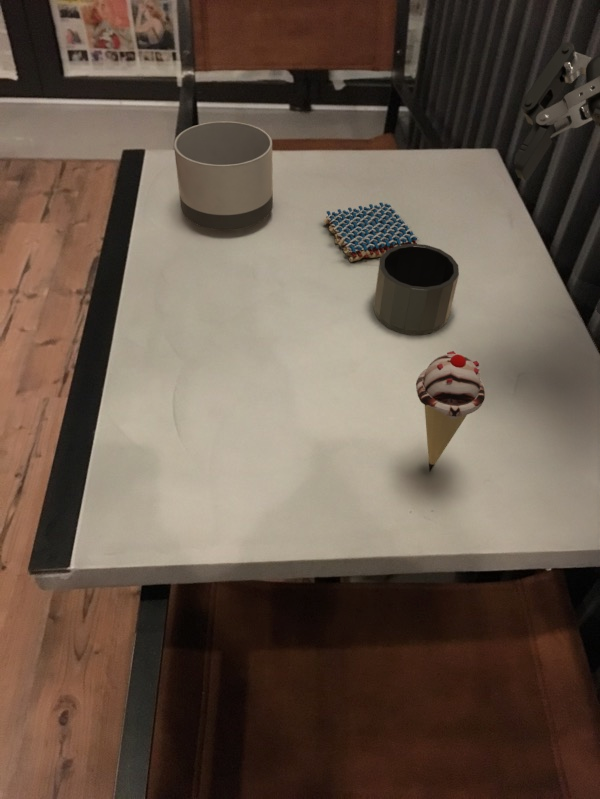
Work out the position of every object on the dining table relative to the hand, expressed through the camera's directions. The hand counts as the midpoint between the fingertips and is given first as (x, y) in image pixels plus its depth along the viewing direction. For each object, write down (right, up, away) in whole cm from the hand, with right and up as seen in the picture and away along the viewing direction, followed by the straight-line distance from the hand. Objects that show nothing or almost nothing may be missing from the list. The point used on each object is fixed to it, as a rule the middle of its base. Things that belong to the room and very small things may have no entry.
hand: (567, 195), depth 54 cm
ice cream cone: (-9, -23, +12) cm, 27 cm away
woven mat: (-11, +6, +40) cm, 42 cm away
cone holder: (-8, -5, +29) cm, 30 cm away
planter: (-31, +10, +44) cm, 55 cm away
